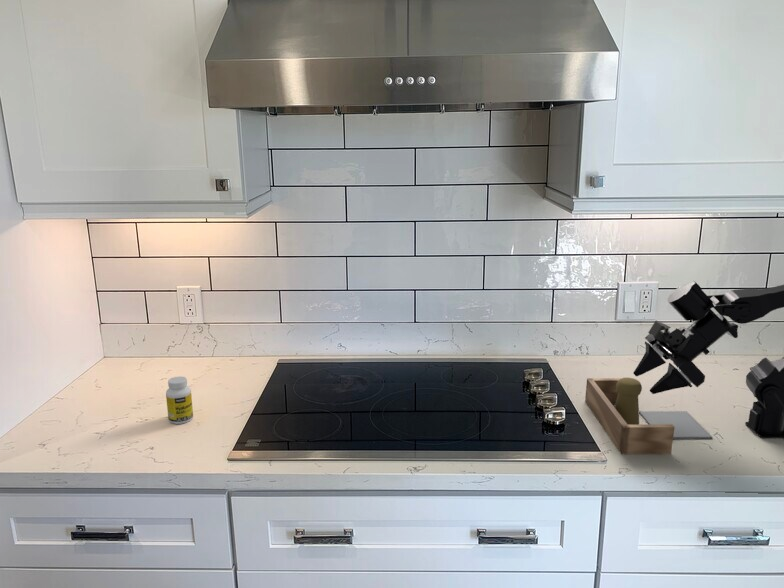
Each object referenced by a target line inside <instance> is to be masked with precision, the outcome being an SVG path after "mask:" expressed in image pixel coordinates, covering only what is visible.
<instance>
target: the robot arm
mask: <svg viewBox="0 0 784 588" xmlns="http://www.w3.org/2000/svg"><path fill="white" fill-rule="evenodd" d="M702 289H703V288H702V287H701V286H700V285H699V284H698V283H697V281H695V280H693V281H692V282H690V283H687V284H684V285H682V286H680V287H677V288H676V289H674V290H673V291H672V292H671V293H670V295H669V296H668V297H667V302H668V303H669V305H670V306H671V307H672V308H673V309H674V310H675V311H676V312H677V313H678V314H679V315H680V316H681V317H682V318H683V319H684V320H685V321H692V322H693V323H692V324H690V325H689V326H687V328H686V327H685V326H680V327H678V328H677V327H676V326H674V325H673V326H669V325H667V324H665V323H663V322H661V321H660V320H655V321H654V323H653V324H652V326H651V327H650V329H649V330H648V334H647V335H646V336H645V337H644V339H645V340H646V341H645V342H644V345H645V352H644V354H643V356H642V358H641V359H640V361H639V363H638V364H637V366H636V368H635V369H634V371H633V375H634V376H635V377H639V376H641V375H644V374H646V373H648V372H650V371H653V370H654V369H656V368H658V367H660V366H663V365H665V364H666V363H667V360H670V361H671V362H673V364H674V365H673V364H672V363H671V362H669V363H668V367H667V372H666V373H665V374H664V375H662V377H661V378H659V380H657V382H655V383H654V384H653V386H652V387H651V388H650V389H649V392H650V393H651V394H652V395H655V394H658V393H665V392H667V391H670V390H671V391H672V390H676V389H681V388H686V387H689V388H692V387H693V385H694V386H695V387H696V388H699V386H700V387H701V385H703V383H705V379H706V375H705V374H704V373H703V372H702V371H701V369H700V368H698V366H697V365H696V364H695V363H694V362H693V361H694V360H695V359H696V358H698V356H699V357H700V355H701V354H702V353H703V354H704V355H708V354H709V353H710V350H709V348H710V347H711V346H712V345H714V344H715V343H716V342H717V341H718V340H719V339H721V338H722V337H723V336H724V335H726V334H727V335H729V336H730V337H732V338H734V339H737V338H738V337H739V335H738V333H739V332H738V330H739V329H738V328H739V325H741V324H742V325H744V324H745V325H746V324H748V323H751V322H754V321H757V320H759V319H761V318H763V317H765V316H767V315H768V314H770V313H771V312H773V311H776V310H777V309H783V308H784V284H780V285H776V286H773V287H768V288H741V289H740V288H739V289H731V290H729V291H726V292H725V293H724V294H713V295H711V294H710V295H708V294H706V293H705V292H704V290H702ZM713 309H714V310H715V311H716V312H717V314H716V313H715V312H714V311H713ZM726 317H728V318H729V319H730V320H731V321H733V322H730V321H729V320H728V319H727V318H726ZM734 322H735V323H734ZM665 360H666V361H665ZM749 370H750V371H749V372H748V373H747V374H746V375H745V376H746V377H745V384H746V386H747V388H748V389H749V390H750V392H751V393H752V394H753V396H754V398H755V399H756V400H757V401H753V403H752V408H750V410H749V416H748V421H745V422H744V424H745V426H746V427H748V429H750V430H751V431H752V432H753V433H754V434H755V435H757V436H758V437H759V438H761V439H778V438H779V439H784V356H783V357H781V358H779V359H776V360H772V361H770V360H769V359H768V357H764V358H762V359H761V360H760V361H759V362H758V363H757V364H755V365H754V366H751V367H749ZM692 384H693V385H692Z"/></svg>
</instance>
